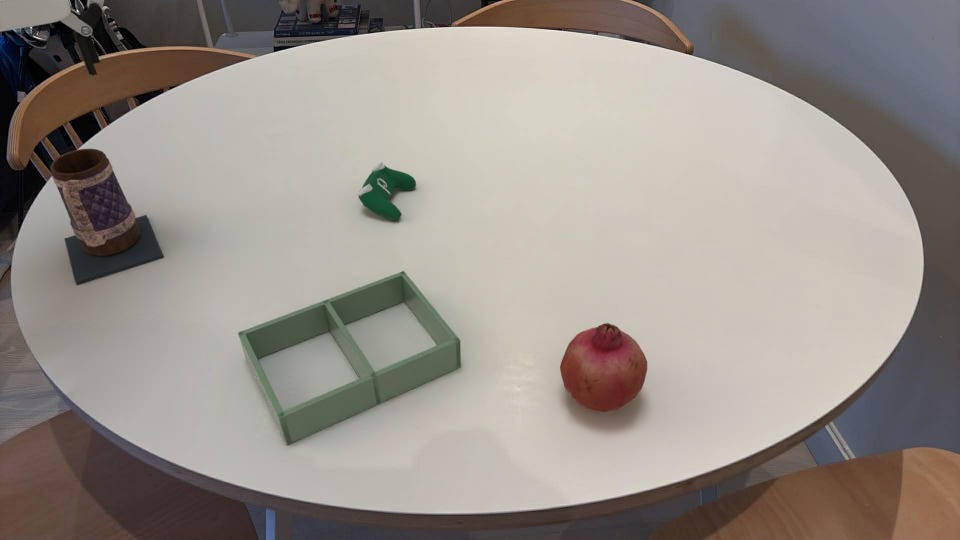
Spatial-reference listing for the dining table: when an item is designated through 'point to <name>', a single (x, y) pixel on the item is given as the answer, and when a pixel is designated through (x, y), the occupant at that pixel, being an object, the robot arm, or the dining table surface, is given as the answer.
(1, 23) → the robot arm
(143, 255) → the mat
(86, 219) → the mug
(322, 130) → the dining table surface
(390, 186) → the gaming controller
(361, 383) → the divided box
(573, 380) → the fruit
